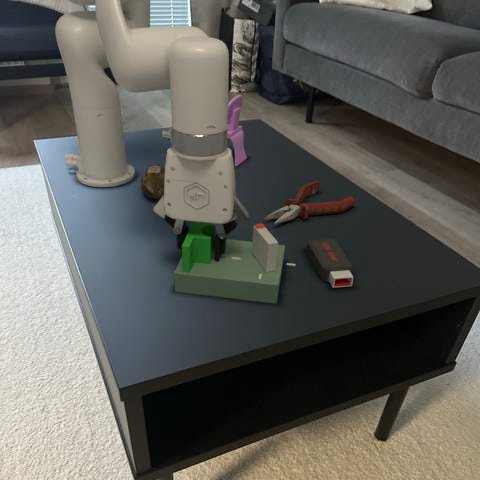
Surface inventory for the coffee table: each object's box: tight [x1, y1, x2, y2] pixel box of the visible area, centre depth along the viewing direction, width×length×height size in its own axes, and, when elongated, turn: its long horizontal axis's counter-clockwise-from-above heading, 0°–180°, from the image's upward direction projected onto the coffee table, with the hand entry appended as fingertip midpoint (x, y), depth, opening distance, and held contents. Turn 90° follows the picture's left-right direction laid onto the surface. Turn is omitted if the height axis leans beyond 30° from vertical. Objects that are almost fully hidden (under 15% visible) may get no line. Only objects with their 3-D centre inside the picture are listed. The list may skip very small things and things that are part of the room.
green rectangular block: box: [173, 238, 297, 305], centre depth 81 cm, size 18×12×4 cm, turn 81°
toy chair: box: [227, 94, 248, 167], centre depth 118 cm, size 8×9×15 cm
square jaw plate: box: [252, 223, 279, 272], centre depth 78 cm, size 6×2×5 cm, turn 21°
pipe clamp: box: [181, 221, 217, 273], centre depth 79 cm, size 11×4×5 cm, turn 173°
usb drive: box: [305, 238, 355, 289], centre depth 84 cm, size 5×12×3 cm, turn 10°
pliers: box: [263, 181, 356, 226], centre depth 101 cm, size 12×20×3 cm, turn 133°
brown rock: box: [140, 165, 165, 201], centre depth 104 cm, size 8×7×10 cm
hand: (201, 253), depth 80 cm, fingers open, 4 cm apart
